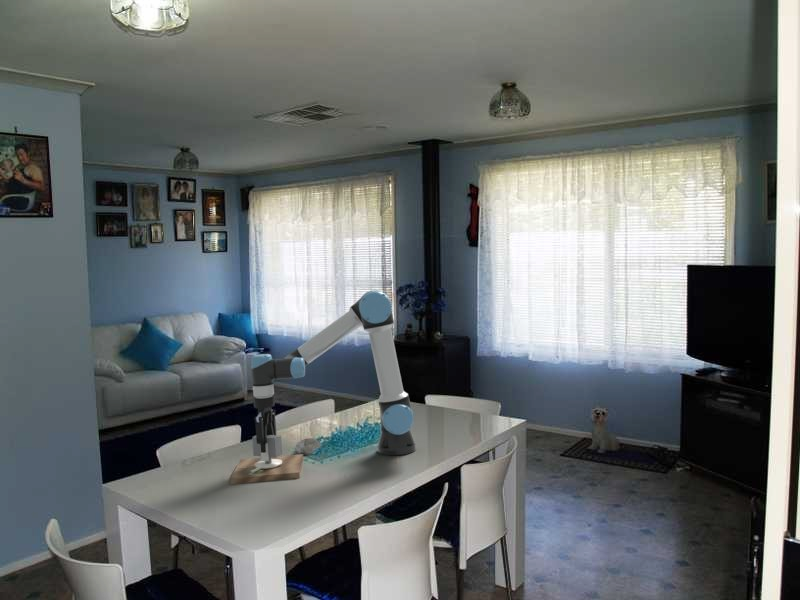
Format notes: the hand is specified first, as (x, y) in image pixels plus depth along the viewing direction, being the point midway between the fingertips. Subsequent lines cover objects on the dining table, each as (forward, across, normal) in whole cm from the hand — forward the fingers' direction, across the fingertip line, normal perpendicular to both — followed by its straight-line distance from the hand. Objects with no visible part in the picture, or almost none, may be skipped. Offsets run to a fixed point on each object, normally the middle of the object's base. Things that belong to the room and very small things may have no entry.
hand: (268, 458), depth 235 cm
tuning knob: (+2, +2, 0) cm, 3 cm away
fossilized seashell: (+5, -26, +6) cm, 27 cm away
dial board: (+5, 0, 0) cm, 5 cm away
